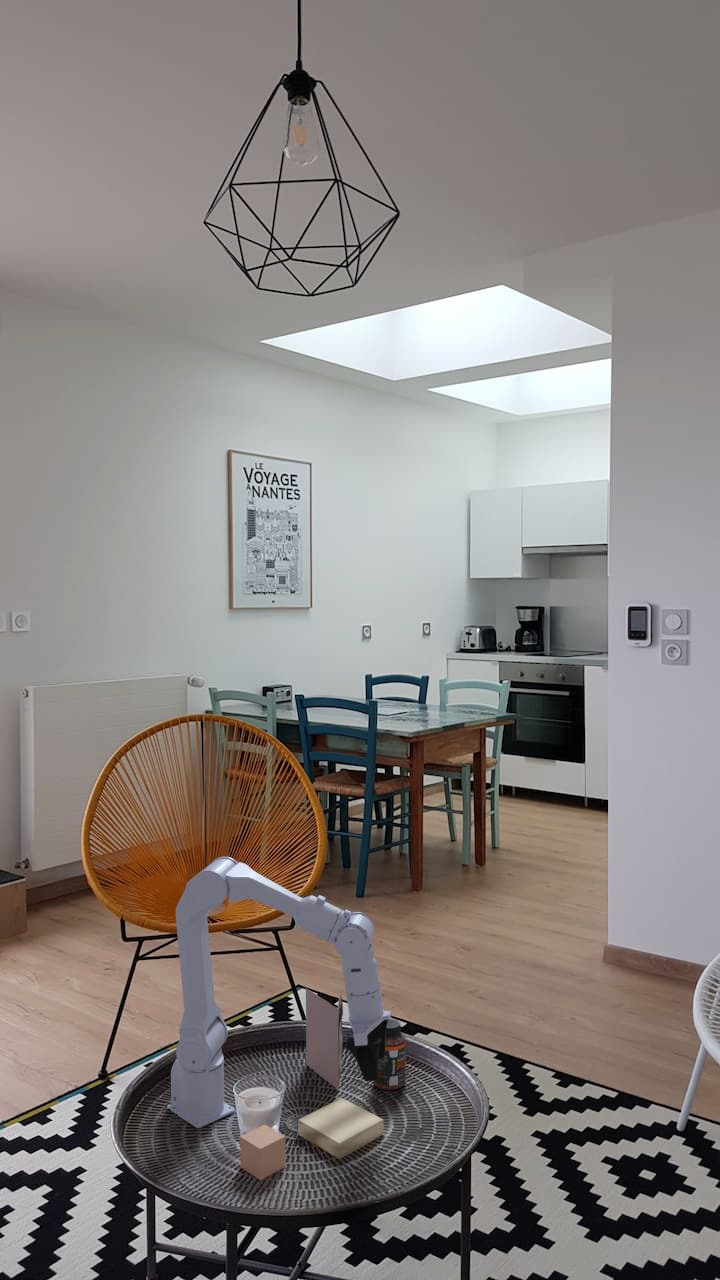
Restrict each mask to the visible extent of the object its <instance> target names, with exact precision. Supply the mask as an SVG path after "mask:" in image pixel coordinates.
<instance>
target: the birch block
mask: <svg viewBox="0 0 720 1280" xmlns="http://www.w3.org/2000/svg"><path fill="white" fill-rule="evenodd" d="M297 1121H298V1123H297V1124H298V1125H297V1126H298V1128H297V1130H298V1131H297V1132H298V1133H297V1134H298V1136H300V1137H302V1138H303V1139H305V1140H306V1141H308V1142H310V1143H312V1144H313V1145H315V1146H317V1147H318V1148H320V1149H323V1150H324V1151H325V1152H327V1153H329V1154H330V1155H332V1156H333V1157H336V1158H337V1159H339V1160H340V1159H343V1158H344V1157H346V1156H347V1155H350V1154H351V1153H353V1152H355V1151H356V1150H359V1149H360V1148H362V1147H364V1146H366V1145H368V1144H369V1143H370V1142H371V1143H372V1142H373V1141H374V1140H376V1139H378V1138H380V1137H382V1136H383V1135H384V1118H381V1117H379V1116H377V1115H376V1114H374V1113H371V1112H370V1111H368V1110H366V1109H364V1108H363V1107H361V1106H359V1105H357V1104H355V1103H353V1102H351V1101H348V1100H347V1099H345V1098H343V1097H341V1098H339V1099H337V1100H335V1101H333V1102H331V1103H329V1104H327V1105H325V1106H323V1107H321V1108H319V1109H317V1110H315V1111H313V1112H311V1113H309V1114H307V1115H305V1116H302V1117H300V1118H299V1119H298V1120H297Z"/></svg>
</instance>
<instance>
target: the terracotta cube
mask: <svg viewBox="0 0 720 1280" xmlns="http://www.w3.org/2000/svg"><path fill="white" fill-rule="evenodd" d="M239 1144H240V1145H239V1147H240V1148H239V1149H240V1150H239V1151H240V1152H239V1153H240V1156H239V1158H240V1168H241V1169H243V1170H245V1171H246V1172H247V1173H249V1174H251V1175H252V1176H254V1178H257V1179H258V1180H260V1181H262V1180H264V1179H266V1178H268V1177H269V1176H271V1175H273V1174H275V1173H277V1172H279V1171H281V1170H282V1169H285V1168H286V1135H284V1134H282V1133H280V1132H279V1131H277V1130H275V1129H273V1128H272V1127H270V1126H269V1125H266V1124H263V1125H260V1126H259V1127H257V1128H255V1129H253V1130H251V1131H248V1132H247V1133H245V1134H242V1135H241V1136H239Z"/></svg>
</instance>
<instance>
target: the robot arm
mask: <svg viewBox="0 0 720 1280" xmlns="http://www.w3.org/2000/svg"><path fill="white" fill-rule="evenodd" d="M185 885H186V886H185V889H184V891H183V893H182V895H181V898H180V899H179V901H178V903H177V904H176V907H175V924H176V932H177V935H176V936H177V944H178V955H179V966H180V979H181V985H182V986H181V988H182V998H183V999H182V1000H183V1007H184V1008H183V1015H182V1018H181V1022H180V1026H179V1029H178V1031H179V1040H178V1043H177V1045H176V1050H175V1055H176V1059H175V1061H174V1063H173V1064H172V1067H171V1070H170V1088H171V1089H170V1093H171V1094H170V1096H171V1097H170V1099H171V1100H170V1104H168V1105H167V1106H166V1108H167V1107H168V1108H169V1109H170V1110H171V1111H173V1112H174V1113H175V1115H176V1114H177V1115H176V1116H178V1117H179V1118H180V1119H183V1120H184V1121H186V1123H189V1124H191V1125H192V1126H193V1127H194V1128H196V1129H200V1128H203V1127H205V1126H207V1125H209V1124H211V1123H214V1122H216V1121H218V1120H220V1119H222V1118H225V1117H226V1116H229V1115H231V1114H233V1113H235V1112H236V1109H235V1108H234V1107H233V1106H231V1105H229V1104H227V1102H225V1069H224V1067H225V1065H224V1064H225V1061H224V1060H225V1059H224V1053H223V1052H222V1051H223V1050H222V1049H223V1047H222V1046H223V1045H224V1044H225V1043H226V1041H227V1039H228V1037H229V1030H228V1027H227V1024H226V1022H225V1020H224V1019H223V1016H222V1010H221V1007H220V1006H219V1005H218V1004H217V1003H216V1002H215V1001H216V1000H215V990H214V989H215V988H214V978H213V976H214V975H213V967H212V957H211V946H210V945H211V944H210V936H209V935H210V934H209V923H208V914H209V913H210V912H211V910H213V909H215V908H217V907H219V906H220V905H221V904H223V902H224V901H225V900H226V899H227V897H229V898H228V899H229V900H228V901H229V902H228V903H229V904H233V903H235V902H240V901H245V900H248V899H251V900H253V901H255V902H258V903H260V904H262V905H265V906H268V907H270V908H272V909H274V910H277V911H279V912H281V913H284V914H286V915H288V916H291V917H292V918H293V920H294V922H295V924H296V926H297V928H299V929H301V930H302V931H305V932H307V933H309V934H310V935H313V936H314V937H317V938H319V939H321V940H322V941H325V942H328V943H329V944H332V945H333V946H334V948H335V951H336V952H337V953H338V954H339V956H341V957H340V958H341V963H342V965H341V966H342V968H341V969H342V973H343V974H342V975H343V981H344V987H345V995H346V1001H347V1009H348V1013H349V1014H348V1015H349V1016H348V1022H349V1025H350V1027H351V1029H352V1033H353V1037H348V1039H347V1040H346V1047H347V1050H349V1052H350V1053H351V1054H352V1055H353V1057H354V1059H355V1061H356V1062H357V1065H358V1068H359V1071H360V1073H361V1076H362V1077H363V1079H364V1082H374V1081H376V1080H377V1079H378V1059H384V1056H385V1040H386V1028H387V1023H388V1019H391V1017H392V1012H391V1010H384V1006H383V1000H382V994H381V986H380V985H381V984H380V980H379V973H378V967H377V961H376V958H375V951H374V945H373V943H372V941H373V938H374V935H375V926H374V923H373V921H372V919H370V917H368V916H367V915H365V913H363V912H360V911H354V912H353V911H350V910H349V909H345V910H344V909H342V908H340V907H337V906H335V905H333V904H331V903H329V902H328V901H326V899H327V898H326V897H325V896H323V895H320V894H319V895H318V896H315V895H312V894H311V895H308V896H305V897H300V896H299V895H298V894H295V893H294V892H292V891H291V890H288V889H287V888H285V887H283V886H281V885H280V884H278V883H276V882H274V881H272V880H270V879H269V878H267V877H265V876H264V875H262V874H260V873H258V872H256V871H255V870H254V869H252V868H251V867H250V866H249V865H247V863H244V862H240V861H237V860H235V859H234V858H232V857H229V856H220V857H217V858H215V859H214V860H213V861H212V862H210V863H209V864H207V866H206V867H205V868H204V869H202V870H201V871H199V872H198V873H196V875H194V876H193V877H192V878H190V880H189V881H188V882H187V883H186V884H185ZM172 1108H175V1109H172ZM170 1110H169V1111H170ZM171 1111H170V1112H171ZM173 1112H172V1113H173ZM174 1113H173V1114H174Z"/></svg>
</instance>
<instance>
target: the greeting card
mask: <svg viewBox="0 0 720 1280" xmlns="http://www.w3.org/2000/svg"><path fill="white" fill-rule="evenodd" d="M337 1004H338V1005H337V1007H336V1006H334V1005H332V1004H331V1003H330V1002H328V1001H327V1000H326V999H323V998H322V997H320V996H319V995H317V994H316V993H315V992H313V991H311V989H310V990H309V989H308V988H306V987H305V1033H306V1034H305V1036H306V1037H305V1041H306V1042H305V1046H306V1047H305V1048H306V1051H305V1053H306V1066H307V1065H308V1066H309V1067H308V1066H307V1067H308V1068H309V1069H311V1070H312V1069H313V1070H314V1071H313V1072H314V1073H316V1074H317V1075H318V1076H320V1077H321V1078H323V1079H324V1081H326V1082H328V1083H329V1084H330V1085H331V1086H333V1087H334V1088H335V1089H337V1090H338V1091H339V1088H340V1080H341V1069H342V1068H341V1067H342V1054H343V1048H344V1047H343V1046H344V1032H343V1021H342V1020H343V1019H342V1018H343V1015H344V1009H343V1008H344V1006H343V997H342V984H340V985H339V994H338V1003H337Z"/></svg>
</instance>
